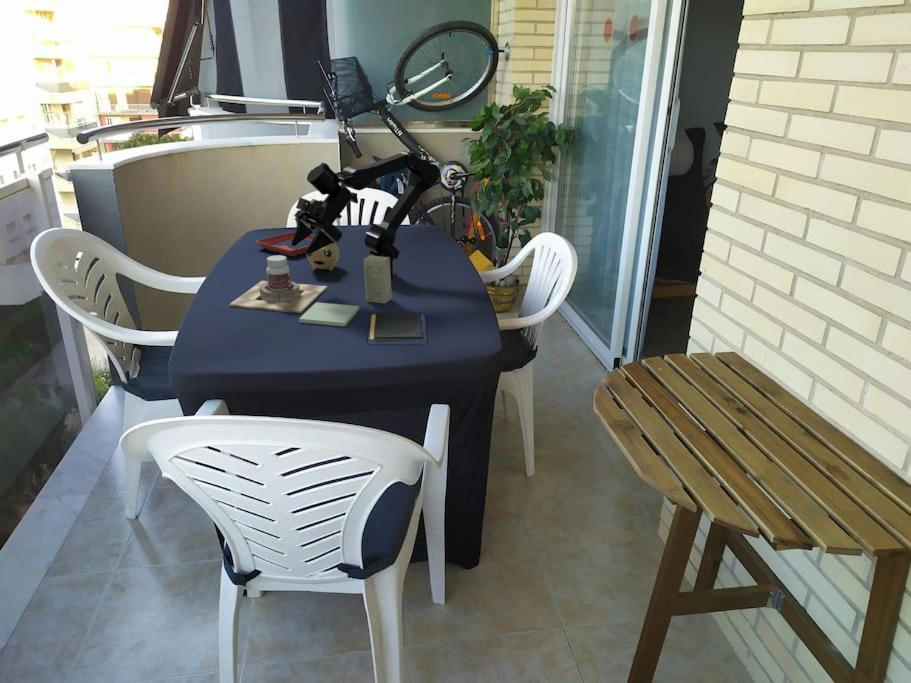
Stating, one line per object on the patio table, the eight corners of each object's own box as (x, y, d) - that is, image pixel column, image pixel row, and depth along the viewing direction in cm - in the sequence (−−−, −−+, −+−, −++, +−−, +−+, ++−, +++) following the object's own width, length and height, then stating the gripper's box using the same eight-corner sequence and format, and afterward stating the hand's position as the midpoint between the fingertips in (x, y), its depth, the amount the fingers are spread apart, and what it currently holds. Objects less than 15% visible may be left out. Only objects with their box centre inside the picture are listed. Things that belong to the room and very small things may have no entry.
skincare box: (392, 299, 180) (391, 257, 175) (385, 304, 177) (384, 261, 172) (371, 296, 182) (370, 254, 177) (364, 301, 179) (362, 258, 174)
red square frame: (296, 239, 235) (295, 230, 233) (331, 248, 225) (330, 239, 224) (255, 250, 221) (254, 240, 220) (291, 260, 212) (290, 250, 211)
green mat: (359, 309, 173) (359, 306, 172) (344, 326, 162) (344, 322, 161) (316, 305, 174) (316, 302, 174) (299, 322, 164) (299, 318, 163)
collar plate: (327, 288, 187) (326, 278, 186) (300, 313, 169) (300, 302, 168) (262, 282, 190) (261, 272, 189) (229, 306, 172) (228, 295, 171)
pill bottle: (295, 298, 179) (291, 259, 174) (273, 302, 176) (269, 262, 171) (287, 291, 184) (283, 253, 179) (265, 295, 180) (262, 256, 176)
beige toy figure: (302, 275, 197) (300, 241, 193) (312, 263, 208) (310, 231, 204) (334, 276, 197) (333, 242, 193) (342, 264, 208) (341, 232, 204)
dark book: (428, 340, 153) (363, 339, 152) (428, 347, 153) (363, 347, 153) (427, 309, 171) (369, 308, 170) (427, 316, 172) (369, 315, 171)
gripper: (298, 180, 181) (264, 224, 179) (329, 192, 168) (293, 239, 166) (325, 205, 189) (292, 248, 187) (357, 219, 175) (322, 264, 174)
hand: (299, 249), depth 178 cm, fingers open, 9 cm apart
